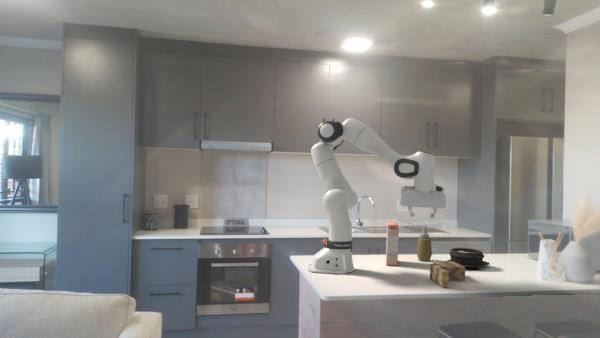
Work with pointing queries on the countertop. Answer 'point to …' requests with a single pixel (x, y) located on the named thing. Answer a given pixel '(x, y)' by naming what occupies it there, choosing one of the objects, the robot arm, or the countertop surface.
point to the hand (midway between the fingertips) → (422, 217)
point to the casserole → (468, 257)
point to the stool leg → (440, 275)
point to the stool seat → (451, 270)
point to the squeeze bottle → (424, 246)
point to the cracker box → (392, 243)
